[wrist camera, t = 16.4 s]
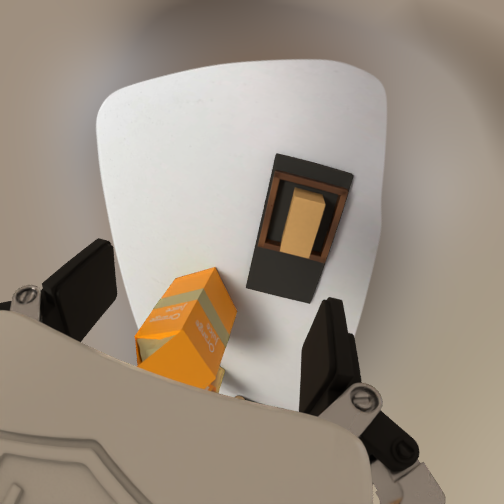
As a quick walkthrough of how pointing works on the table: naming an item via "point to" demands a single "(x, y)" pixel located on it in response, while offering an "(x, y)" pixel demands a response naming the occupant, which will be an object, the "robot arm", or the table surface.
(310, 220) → the brown block
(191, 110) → the table surface
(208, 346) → the orange juice
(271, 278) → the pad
